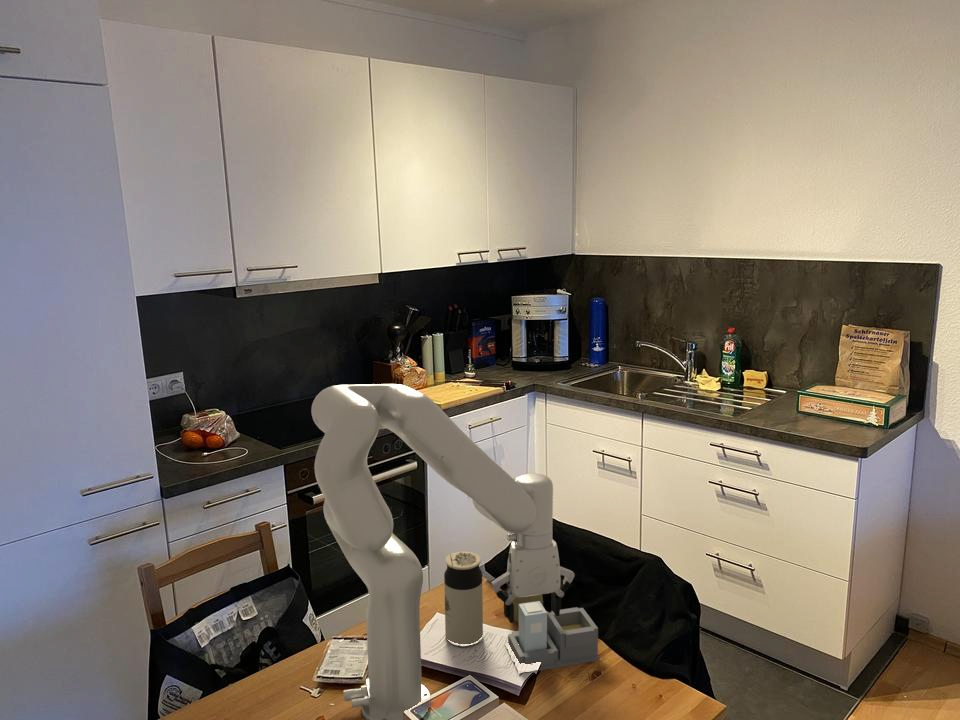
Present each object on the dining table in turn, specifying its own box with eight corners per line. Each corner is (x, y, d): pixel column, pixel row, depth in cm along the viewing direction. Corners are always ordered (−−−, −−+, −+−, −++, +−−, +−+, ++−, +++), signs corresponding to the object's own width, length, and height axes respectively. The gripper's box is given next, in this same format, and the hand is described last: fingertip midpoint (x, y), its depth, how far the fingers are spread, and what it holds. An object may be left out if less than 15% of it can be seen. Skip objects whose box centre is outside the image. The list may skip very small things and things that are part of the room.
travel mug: (483, 626, 155) (482, 550, 152) (482, 648, 148) (481, 568, 144) (446, 626, 156) (445, 550, 152) (444, 648, 148) (442, 568, 144)
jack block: (518, 674, 139) (518, 644, 138) (504, 645, 149) (504, 616, 147) (599, 660, 143) (600, 631, 142) (580, 633, 153) (580, 605, 152)
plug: (525, 661, 142) (525, 615, 140) (518, 648, 147) (518, 603, 145) (546, 658, 143) (547, 611, 141) (539, 645, 148) (539, 600, 146)
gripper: (496, 550, 134) (496, 632, 138) (581, 539, 139) (579, 619, 142) (485, 533, 141) (486, 612, 145) (567, 524, 146) (566, 600, 149)
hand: (532, 615), depth 143 cm, fingers open, 9 cm apart
